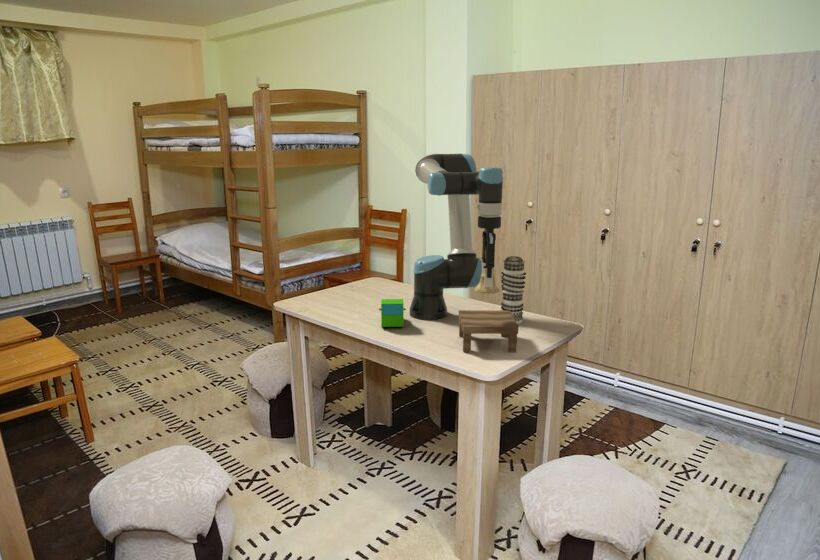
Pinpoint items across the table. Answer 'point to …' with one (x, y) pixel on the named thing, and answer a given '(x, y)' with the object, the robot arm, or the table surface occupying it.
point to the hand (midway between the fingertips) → (487, 284)
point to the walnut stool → (487, 326)
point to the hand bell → (483, 289)
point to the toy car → (392, 313)
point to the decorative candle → (513, 287)
